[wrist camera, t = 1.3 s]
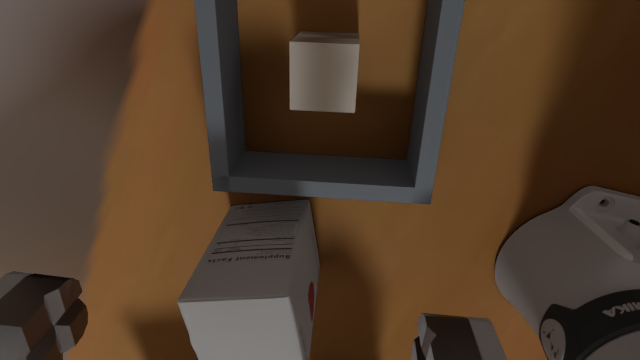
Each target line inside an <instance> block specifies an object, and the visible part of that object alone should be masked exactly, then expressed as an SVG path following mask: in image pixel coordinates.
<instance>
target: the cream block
mask: <svg viewBox="0 0 640 360" xmlns="http://www.w3.org/2000/svg"><path fill="white" fill-rule="evenodd" d="M359 46H360V43H359V33H338V32H312V31H301V32H299V33H298V34H297V35H296V36H295V37H294V38H293V39H292V40H291V41H290V42H289V51H290V110H304V111H325V112H345V113H355V104H356V90H357V75H358V60H359Z"/></svg>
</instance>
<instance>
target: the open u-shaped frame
mask: <svg viewBox="0 0 640 360" xmlns="http://www.w3.org/2000/svg"><path fill="white" fill-rule="evenodd" d="M194 2H195V12H196V22H197V32H198V42H199V52H200V63H201V73H202V83H203V93H204V103H205V113H206V123H207V133H208V143H209V153H210V163H211V173H212V183H213V191H224V192H240V193H256V194H273V195H289V196H305V197H321V198H337V199H353V200H370V201H386V202H402V203H418V204H430V203H431V197H432V191H433V185H434V179H435V173H436V167H437V162H438V156H439V150H440V144H441V138H442V132H443V126H444V120H445V114H446V109H447V103H448V97H449V91H450V85H451V79H452V73H453V67H454V61H455V56H456V50H457V44H458V38H459V32H460V26H461V20H462V14H463V8H464V3H465V0H428V4H427V12H426V19H425V27H424V34H423V42H422V49H421V57H420V64H419V72H418V79H417V87H416V94H415V102H414V109H413V117H412V124H411V132H410V139H409V147H408V154H407V160H401V159H384V158H366V157H348V156H330V155H312V154H294V153H276V152H258V151H245V134H244V117H243V99H242V82H241V64H240V47H239V29H238V12H237V0H194Z"/></svg>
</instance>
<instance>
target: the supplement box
mask: <svg viewBox="0 0 640 360" xmlns="http://www.w3.org/2000/svg"><path fill="white" fill-rule="evenodd" d="M319 270H320V261H319V254H318V248H317V242H316V236H315V229H314V223H313V217H312V211H311V205H310V201H309V200H308V199H305V200H293V201H282V202H270V203H259V204H248V205H236V206H231V207H230V209H229V211H228V213H227V214H226V216H225V218H224V220H223V221H222V223H221V225H220V227H219V228H218V230H217V232H216V234H215V235H214V237H213V239H212V241H211V243H210V244H209V246H208V248H207V250H206V251H205V253H204V255H203V257H202V258H201V260H200V262H199V264H198V266H197V267H196V269H195V271H194V273H193V274H192V276H191V278H190V280H189V281H188V283H187V285H186V287H185V288H184V290H183V292H182V294H181V295H180V297H179V298H178V300H177V303H178V306H179V308H180V311H181V314H182V317H183V319H184V322H185V325H186V327H187V330H188V333H189V336H190V342H191V345H192V347H193V349H194V351H195V352H196V355H197V358H198V360H309V354H310V346H311V337H312V329H313V320H314V312H315V303H316V295H317V286H318V278H319Z"/></svg>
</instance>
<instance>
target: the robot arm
mask: <svg viewBox="0 0 640 360" xmlns="http://www.w3.org/2000/svg"><path fill="white" fill-rule="evenodd" d="M602 200H605V201H604V202H603V203H601V204H600V202H601V201H602ZM495 279H496V283H497V286H498V288H499V290H500V292H501V293H502V295H503V296H504V297H505V298H506V299H507V300H508V301H509V302H510V303H511V304H512V305H513V306H514V307H515V308H516V309H517V310H518V312H519V313H520V314H521V315H522V316H523V318H524V319H525V320H526V321H527V323H528V324H529V325H530V327H531V328H532V329H533V331H534V332H535V333H536V335H537V336H538V338H539V339H540V342H541V344H542V347H543V350H544V352H545V355H546V357H547V359H548V360H640V197H639V196H635V195H631V194H627V193H622V192H618V191H614V190H610V189H606V188H602V187H598V186H587V187H585V188H583V189H581V190H579V191H578V192H577V193H575V194H574V195H573V196H572V197H570V198H569V199H568V200H567V201H566V202H565V203H564V204H562V205H561V206H559V207H557V208H555V209H553V210H551V211H549V212H546V213H544V214H542V215H539V216H537V217H535V218H534V219H532V220H530V221H528V222H527V223H525V224H524V225H523V226H521V227H520V228H519V229H518V230H516V231H515V232H514V233H513V234H512V235H511V236H510V237H509V239H508V240H507V241H506V242H505V244H504V245H503V247H502V248H501V250H500V252H499V255H498V257H497V260H496V265H495ZM81 293H82V289H81V286H80V282H79V280H76V279H74V278H67V277H59V276H51V275H43V274H35V273H34V274H31V273H24V272H16V271H13V272H10V273H7V274H5V275H4V276H3V277H1V278H0V360H63V353H64V352H65V351H67V350H69V349H71V348H72V347H74V346H76V344H77V343H78V342H79V340H80V339H81V337H82V336H83V334H84V331H85V329H86V326H87V323H88V311H87V307H86V305H85V304H84V303H83V302H82V301H81V300H80V299H79V298H78V297H79V296H80V294H81ZM417 326H418V332H419V336H418V337H417V338H415V339H414V343H413V349H412V360H507V358H506V356H505V354H504V351H503V349H502V346H501V344H500V341H499V339H498V337H497V334H496V332H495V329H494V327H493V324H492V322H491V321H490V320H489V319H487V318H475V317H462V316H451V315H440V314H429V313H421V315H420V317H419V321H418V325H417Z"/></svg>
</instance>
